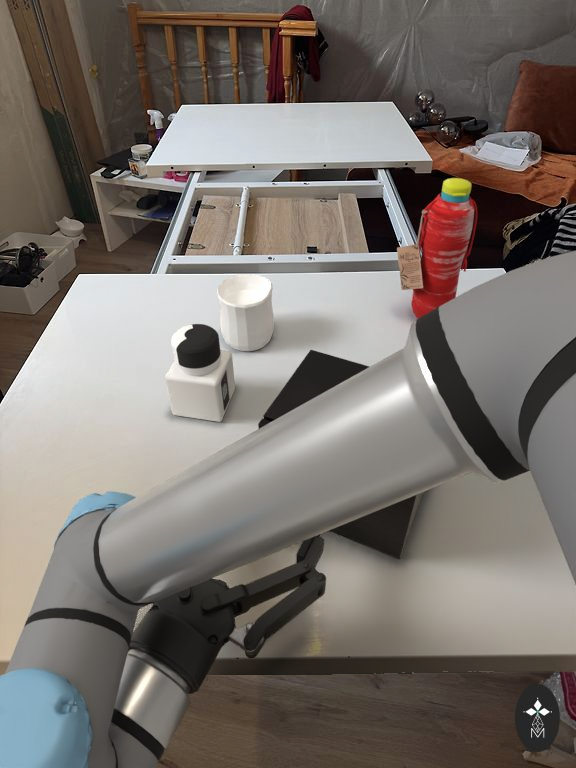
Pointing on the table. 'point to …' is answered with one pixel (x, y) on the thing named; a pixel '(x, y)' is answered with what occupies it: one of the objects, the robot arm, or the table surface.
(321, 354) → the dark grey cabinet
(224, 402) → the container
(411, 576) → the table surface
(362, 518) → the door
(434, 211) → the water bottle
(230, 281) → the cup
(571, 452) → the robot arm
